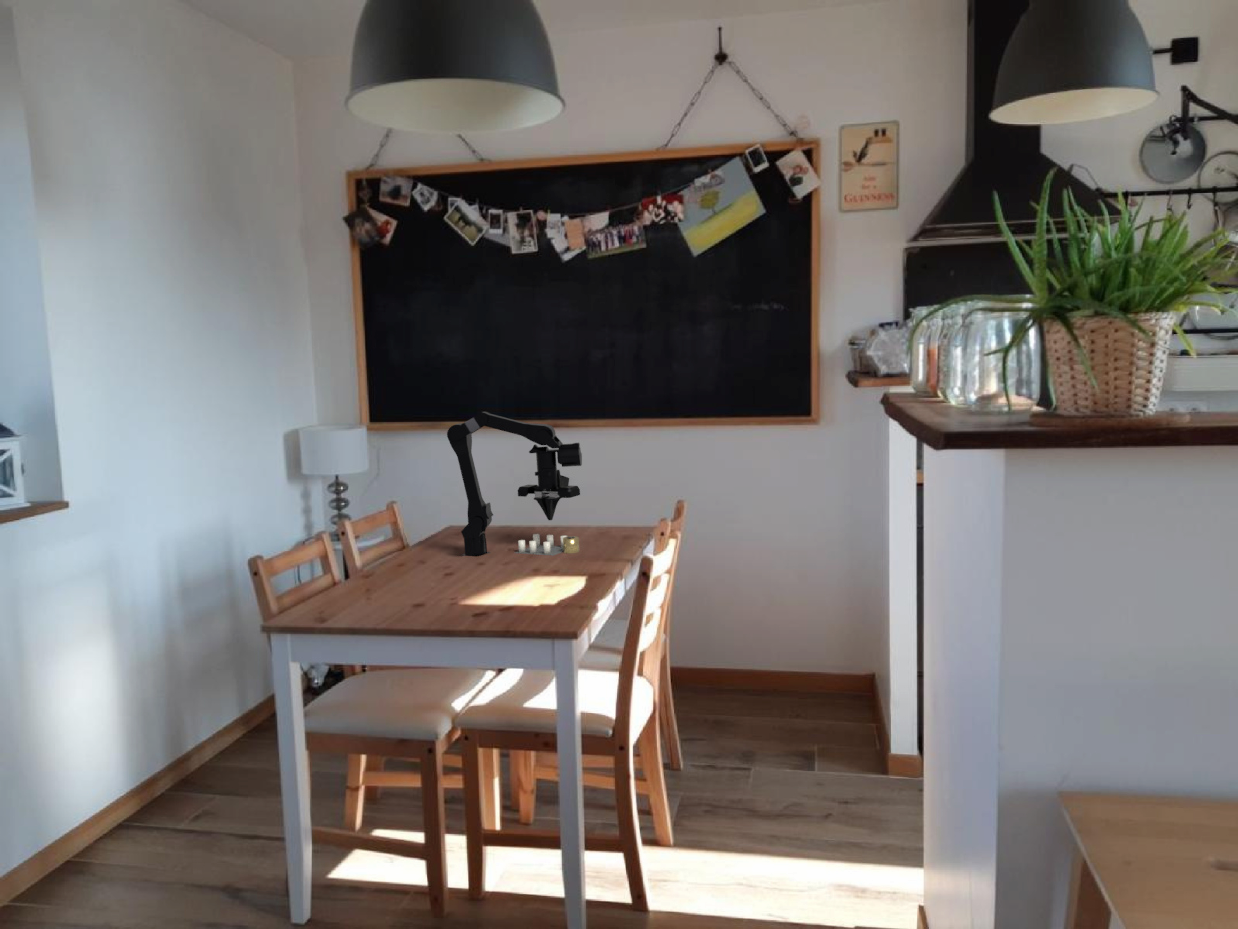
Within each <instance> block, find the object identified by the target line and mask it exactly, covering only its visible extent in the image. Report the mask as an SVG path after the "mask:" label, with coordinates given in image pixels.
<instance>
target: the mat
mask: <svg viewBox="0 0 1238 929" xmlns="http://www.w3.org/2000/svg"><path fill="white" fill-rule="evenodd" d="M536 548H537V553H534V554H533V555H538V556H539V555H540V556H541V555H542V556H552V557H553V556H557V555H559V554H561V553H564V551H563V548H561V545H554V547H551V554H547V555H545V554H544V546H543V544H540V546H536ZM525 549H526V552H524V553H521V555H522V554H525V555H532V554H531V553H530V546H529V547H527V548H526V547H525ZM514 554H520V553H519V550H518V551H515V552H514Z"/></svg>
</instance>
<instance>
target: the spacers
mask: <svg viewBox="0 0 1238 929" xmlns="http://www.w3.org/2000/svg"><path fill="white" fill-rule="evenodd" d="M564 537H568V535H560V538H559V539H560V546H561V548H563V538H564ZM554 541H555V540H554V535H553V534H546V541H543V543H542V545H543V546H544V554H545V555H544V556H548V555H547V554H551V547H554V546H555V542H554ZM528 543H529V544H528V545H529V547H530V553H531V554H530V555H535V554H534V553H537V548H536V546H540V545H541V538H540V533H533V534H532V540H529V541H528ZM517 544H518V551H519V553H518V554H522V553H524V552H526V540H525V539H520V540H517Z"/></svg>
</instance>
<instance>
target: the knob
mask: <svg viewBox="0 0 1238 929" xmlns="http://www.w3.org/2000/svg"><path fill="white" fill-rule="evenodd" d="M563 551H564V552H563V553H564V554H577V553H579V552H580V538H579V536H575V535H569V536H568V535H567V537H564V538H563Z"/></svg>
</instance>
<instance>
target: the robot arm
mask: <svg viewBox="0 0 1238 929" xmlns="http://www.w3.org/2000/svg"><path fill="white" fill-rule="evenodd" d="M483 427H487V428H491V429H494V430H498V431H503V432H506V433H510V434H514V435H518V436H521V437H524V438H525V439H526V440H529V441H530V442H533V443H536V444H534V445H533V446H532V448H531V449H530V450H529V451H528V453H529V454H535V455H536V470H537V471H535V472H534V476H537V484H525V485H522V486H519V487H518V489H517V496H518V497H521V498H522V497H524V498H526V497H527V496H528V495H529V494H530V495H531V494H533V495H534V497H533V500H535V501H536V502H537V504H538V505H539V506H540V508H541V510H542V511H543V513H544V515H545V516H546V519H547V520H548V521H552V520H554V516H555V512H556V508H557V506H558V503H559V501H560V500H561V499H570V498H574V497H577V496H581V490H580V488H579V485H569V484H570V477H567V476H564V475H561V471H560V469H557V463H558V464H559V465H561V467H562V468H565V467H566V468H567V467H582V465H583V453H582V452H581V451H582V450H581V444H580V442H573V443H563V442H562V441H561V439H560V438H559V437H558V436H557V435H556V430H555V428H554V427H553V425H550V424H548V423H547V424H546V423H534V422H533V423H532V422H531V423H530V422H523V421H521V420H516V419H512V418H509V417H508V418H507V417H505V416H500V415H498V414H492V413H490V412H488V411H481V412H479V413H477V415H475V416H474V417H471V418H470V419H468V420H466V421H464V422H460V423H456V424H452V425H451V426H449V428H448V430H447V431H446V437H447V439H448V441H449V444H450V447H451V448H452V450H453V452H454V453H455V455H456V457H457V461H458V465H459V469H460V473H461V477H462V481H463V486H464V490H465V495H466V498H467V522H468V523H467V524H466V525H465V526H464V528H463V529H462V530H461V531H460V533H461V536H462V537H463V544H464V553H463V554H461V555H460V556H461V557H476V558H477V557H480V556H484V555H487V554H490V553H491V551H488V548H487V545H488V544H487V538H486V533H485V532H486V529H487V528H488V527H489V526H490V524H491V523H492V520H493V518H492V517H494V514H493V512H492V506H491V502H487V503H486V502H485V500H484V498H483V495H482V491H481V488H480V483H479V479H478V474H477V470H476V467H475V462H474V458H473V454H472V446H473V437H472V435H473V434H474V433H476V432H477V431H479V430H480V429H482V428H483ZM538 445H539V446H538ZM549 448H550V449H549ZM556 453H557V454H556ZM556 455H557V456H556Z"/></svg>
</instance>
